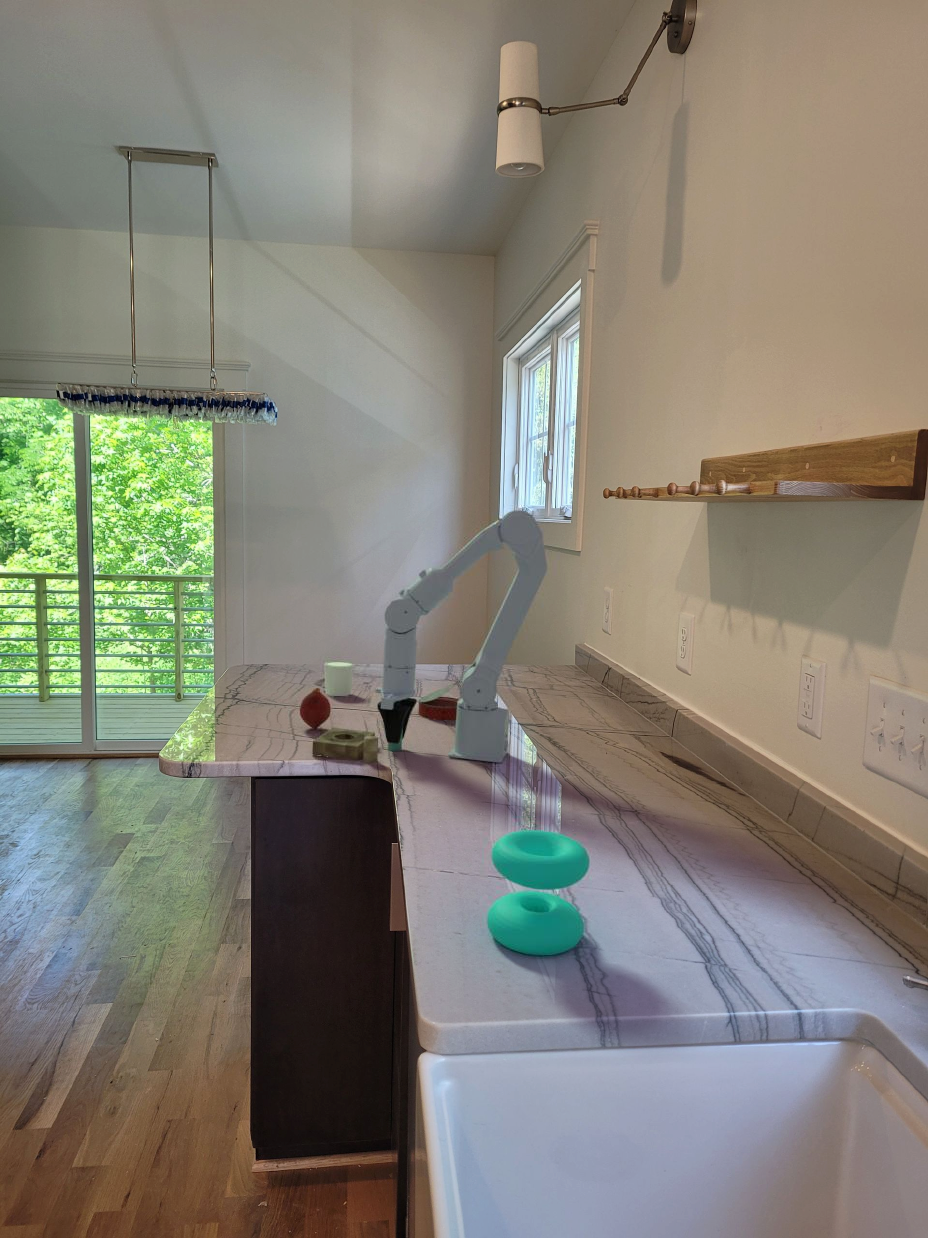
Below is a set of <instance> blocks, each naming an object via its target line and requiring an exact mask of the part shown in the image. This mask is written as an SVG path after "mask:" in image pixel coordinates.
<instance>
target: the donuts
mask: <svg viewBox="0 0 928 1238" xmlns="http://www.w3.org/2000/svg"><path fill="white" fill-rule="evenodd" d="M491 860H492V864H493V866H494V867H495V869H496V870H497V872H498V873H499V874H500V875H501V876H502V877H503V878H504V879H506V880H507V881H510V882H511V883H514V884H515V885H517V886H521V887H523V888H528V889H533V890H520V891H514V892H511V893H509V894H508V893H507V894H506V895H503V896H502V897H499V898H498V899H497V900H495V901H494V903H493V904H492V905H491V906H490V908H489V910H488V912H487V916H486V917H487V918H486V924H487V928H488V930H489V932H490V935H492V937H493V939H495V940H496V941H497V942H498V943H499V944H500V945H503V946H504V947H506V948H508V949H510V950H512V951H514V952H515V951H516V952H519V953H522V954H527V955H530V956H531V955H533V956H554V955H557V954H558V955H559V954H562V953H564V952H568V951H569V950H571V949H573V948H574V947H576V946H577V944H578V943H579V942H580V941H581V939H582V938H583V935H584V929H585V924H584V920H583V917H582V915H581V913H580V912H579V910H578V909H577V907H575V906H574V905H573V904H572V903H571V902H569V901H568V900H566V899H564V898H562V897H560V896H558V895H555V894H552V893H550V892H545V891H550V890H551V891H552V890H559V889H564V888H568V887H572V886H573V885H575V884H577V883H578V882H580V881H581V880H582V879H583V878H584V877H585V876H586V874H587V873H588V871H589V867H590V858H589V854H588V852H587V850H586V848H584V846H583V845H582V844H581V843H580V842H578V841H577V840H575V839H573V838H572V837H570V836H567V835H564V834H561V833H557V832H553V831H547V830H539V829H538V830H537V829H527V830H517V831H513V832H510V833H507V834H505V835H503V836H501V837H500V838H498V839H497V840H496V842H495V843H494V845H493V847H492V850H491ZM539 890H542V891H539ZM543 890H544V891H543Z"/></svg>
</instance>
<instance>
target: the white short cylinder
mask: <svg viewBox="0 0 928 1238" xmlns="http://www.w3.org/2000/svg"><path fill="white" fill-rule="evenodd" d="M323 666H324V667H323V670H324V672H323V673H324V687H325V688H324V689H325V690H324V691H325V695H326V694H327V695H326V696H328V695H329V697H334V696H345V697H349V696H348V695H350V696H351V693H352V687H353V686H352V685H353V678H354V672H355V664H354V663H351V662H348V661H347V662H346V661H327V662H324V663H323Z"/></svg>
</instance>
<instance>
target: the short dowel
mask: <svg viewBox="0 0 928 1238" xmlns="http://www.w3.org/2000/svg"><path fill="white" fill-rule="evenodd" d="M378 749H379V737H378V736H376V735H375V736H366V737H364V751H363V756H362V762H364V763H367V764H375V763H377V762H378V752H379V750H378Z"/></svg>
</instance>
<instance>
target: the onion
mask: <svg viewBox="0 0 928 1238" xmlns="http://www.w3.org/2000/svg"><path fill="white" fill-rule="evenodd" d="M331 711H332V709H331V703H330V701H329V699H328V697H327V696H325V695H324V694H323V693H321V688H320V687H317V686H316V687H314V688H313V690H312V691H311V692H310V693H309V694H307V695H306V696H305V697H304V698H303V699H302V701H301V703H300V706H299V715H300V718H301V720H302V721H303V722H304V723H306V725H307V726H309V727H310V728H311V729H313V728H316V729H318V728H319V727H320V726H321V725H323V724H324V723H325V722H326V721H327V720H329V718H330V715H331Z"/></svg>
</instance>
